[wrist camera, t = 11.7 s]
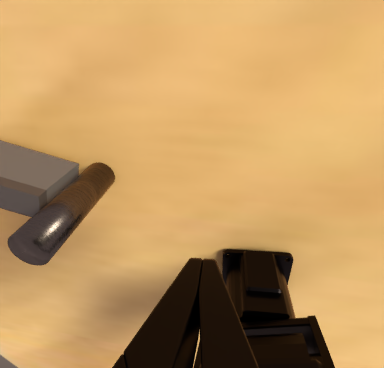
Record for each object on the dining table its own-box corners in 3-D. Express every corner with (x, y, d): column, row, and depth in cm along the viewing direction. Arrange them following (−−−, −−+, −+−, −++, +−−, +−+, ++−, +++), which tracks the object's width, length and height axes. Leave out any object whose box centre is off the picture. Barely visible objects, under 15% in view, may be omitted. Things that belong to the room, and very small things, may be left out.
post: (117, 187, 22) (55, 266, 14) (92, 186, 22) (18, 263, 14) (111, 162, 20) (41, 234, 13) (85, 162, 21) (0, 232, 13)
